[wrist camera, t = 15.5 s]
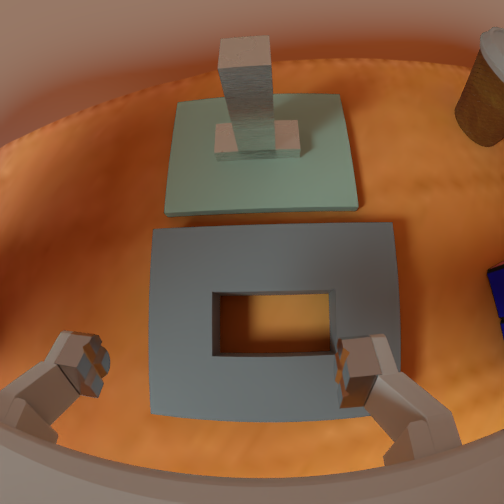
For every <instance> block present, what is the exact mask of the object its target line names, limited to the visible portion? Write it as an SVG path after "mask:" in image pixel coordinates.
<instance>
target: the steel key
mask: <svg viewBox="0 0 504 504" xmlns="http://www.w3.org/2000/svg"><path fill="white" fill-rule="evenodd" d="M218 72H219V76H220V80H221V84H222V88H223V92H224V96H225V100H226V104H227V108H228V112H229V116H230V120H231V123H222V124H216V130H215V146H214V154H215V156H216V159H217V162H219V161H235V160H254V159H281V158H300V139H299V128H298V120H274V104H273V86H272V68H271V54H270V41H269V35H267V36H247V37H235V38H225V39H221V41H220V50H219V60H218Z"/></svg>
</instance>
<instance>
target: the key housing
mask: <svg viewBox="0 0 504 504" xmlns="http://www.w3.org/2000/svg"><path fill="white" fill-rule="evenodd" d="M327 293H329V316H330V351H318V352H291V353H220V296H247V295H297V294H327ZM376 334H384V335H385V336H386V338H387V341H388V344H389V346H390V349H391V352H392V355H393V358H394V361H395V364H396V366H397V369H398V372H400V368H401V328H400V300H399V284H398V270H397V259H396V249H395V240H394V232H393V224H392V222H367V223H301V224H263V225H233V226H207V227H184V228H163V229H153V237H152V252H151V268H150V291H149V386H150V407H151V414H157V415H164V416H172V417H181V418H191V419H203V420H217V421H236V422H301V421H320V420H334V419H346V418H355V417H364V416H371V415H370V414H369V413H368V412H367V410H366V409H365V408H364V406H363V407H352V408H340V409H339V403H338V397H337V389H338V385H339V384H338V383H337V382H335V379H334V370H333V365H334V356H335V354H336V353H337V352H338V349H337V342H338V339H339V338H340V337H352V336H363V335H376Z"/></svg>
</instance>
